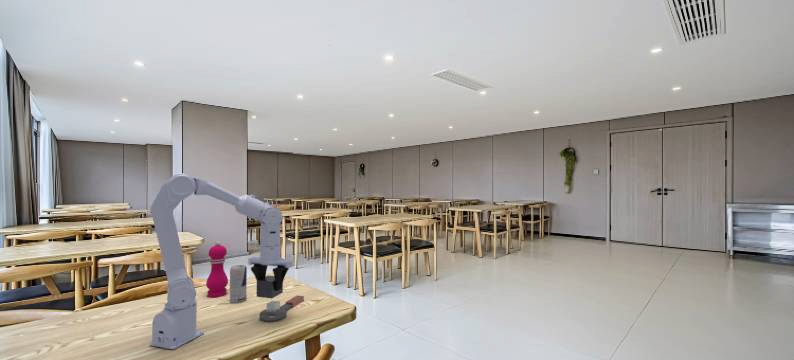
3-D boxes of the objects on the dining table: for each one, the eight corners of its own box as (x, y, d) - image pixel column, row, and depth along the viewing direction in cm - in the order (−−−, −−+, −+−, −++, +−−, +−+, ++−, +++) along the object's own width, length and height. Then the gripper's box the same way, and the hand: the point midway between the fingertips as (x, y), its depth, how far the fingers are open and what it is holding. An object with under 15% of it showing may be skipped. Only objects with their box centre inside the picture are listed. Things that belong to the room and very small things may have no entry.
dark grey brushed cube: (271, 298, 98) (271, 281, 98) (256, 296, 99) (256, 280, 99) (282, 292, 103) (282, 276, 103) (268, 291, 104) (268, 275, 104)
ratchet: (276, 323, 97) (276, 308, 97) (253, 320, 99) (253, 305, 99) (310, 301, 116) (310, 288, 116) (290, 299, 118) (290, 286, 118)
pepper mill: (208, 292, 125) (209, 240, 125) (229, 290, 127) (230, 239, 127) (203, 298, 118) (204, 243, 118) (225, 296, 120) (226, 242, 120)
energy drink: (249, 298, 119) (249, 265, 119) (240, 303, 113) (241, 268, 113) (235, 297, 119) (235, 264, 119) (226, 302, 114) (226, 268, 114)
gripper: (298, 244, 103) (297, 287, 103) (259, 241, 107) (258, 283, 107) (284, 248, 96) (284, 294, 96) (243, 245, 100) (243, 290, 100)
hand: (270, 289), depth 101 cm, fingers closed on dark grey brushed cube, 5 cm apart
